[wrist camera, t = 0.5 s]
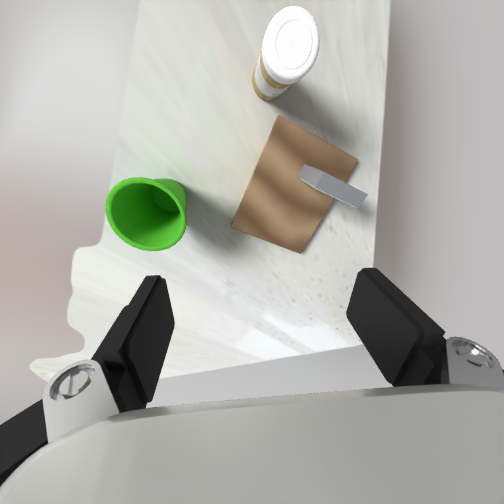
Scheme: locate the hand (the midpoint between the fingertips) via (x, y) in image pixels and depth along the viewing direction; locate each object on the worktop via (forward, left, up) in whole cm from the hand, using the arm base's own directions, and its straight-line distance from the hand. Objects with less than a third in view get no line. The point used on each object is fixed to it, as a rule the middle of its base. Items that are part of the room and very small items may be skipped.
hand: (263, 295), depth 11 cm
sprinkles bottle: (-14, -2, -28) cm, 31 cm away
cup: (+6, -10, -28) cm, 30 cm away
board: (-2, +8, -28) cm, 29 cm away
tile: (-6, +11, -27) cm, 29 cm away
